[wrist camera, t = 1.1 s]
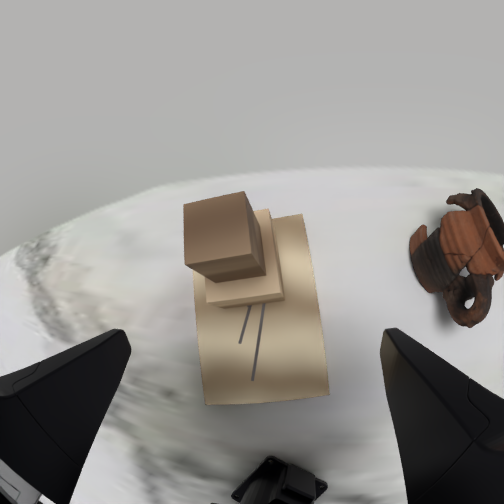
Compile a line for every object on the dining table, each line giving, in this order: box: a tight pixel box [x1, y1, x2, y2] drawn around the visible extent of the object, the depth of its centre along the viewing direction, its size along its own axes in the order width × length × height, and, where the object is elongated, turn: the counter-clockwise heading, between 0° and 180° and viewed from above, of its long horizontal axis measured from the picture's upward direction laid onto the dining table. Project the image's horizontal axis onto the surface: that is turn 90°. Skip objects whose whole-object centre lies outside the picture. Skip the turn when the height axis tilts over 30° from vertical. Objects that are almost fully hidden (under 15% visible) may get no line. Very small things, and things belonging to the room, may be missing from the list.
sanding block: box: [184, 191, 285, 309], centre depth 18 cm, size 6×5×9 cm
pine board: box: [193, 214, 330, 405], centre depth 22 cm, size 15×10×2 cm, turn 7°
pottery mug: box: [410, 188, 504, 328], centre depth 18 cm, size 12×10×8 cm
